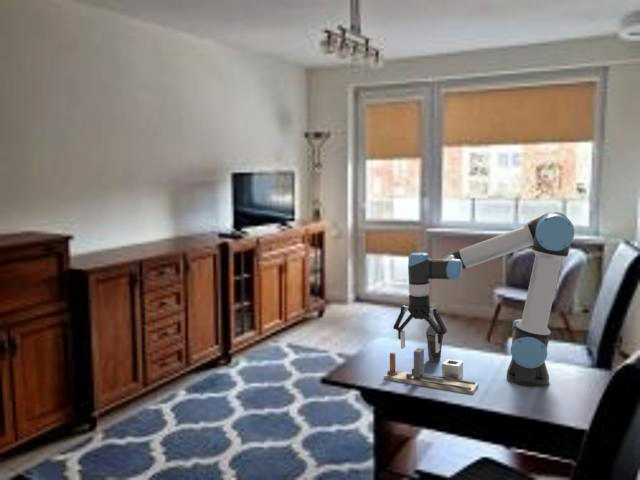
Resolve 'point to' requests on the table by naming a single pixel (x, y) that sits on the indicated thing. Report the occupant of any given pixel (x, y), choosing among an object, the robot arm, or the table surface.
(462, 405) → the table surface
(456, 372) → the link
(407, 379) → the board
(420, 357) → the grey l-shaped block
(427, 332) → the beverage cup
